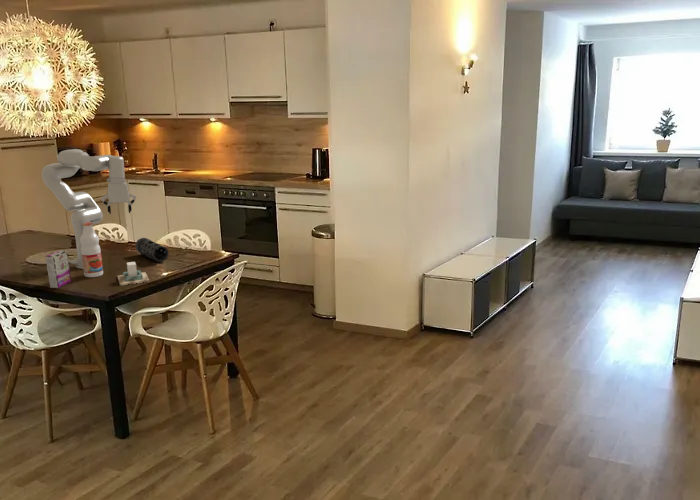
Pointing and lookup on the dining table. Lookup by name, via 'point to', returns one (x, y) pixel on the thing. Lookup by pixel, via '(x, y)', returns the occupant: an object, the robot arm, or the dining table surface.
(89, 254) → the fruit juice
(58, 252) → the candy bar box
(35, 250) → the dining table surface
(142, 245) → the muzzle brake
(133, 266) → the block
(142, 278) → the holder
